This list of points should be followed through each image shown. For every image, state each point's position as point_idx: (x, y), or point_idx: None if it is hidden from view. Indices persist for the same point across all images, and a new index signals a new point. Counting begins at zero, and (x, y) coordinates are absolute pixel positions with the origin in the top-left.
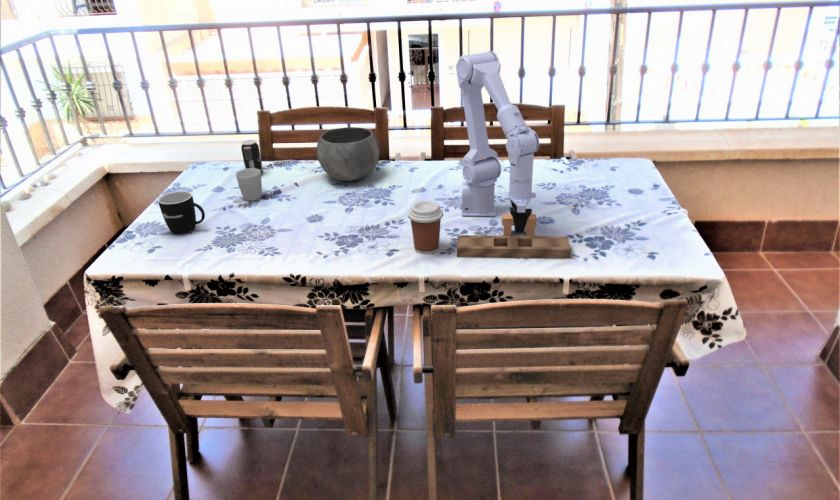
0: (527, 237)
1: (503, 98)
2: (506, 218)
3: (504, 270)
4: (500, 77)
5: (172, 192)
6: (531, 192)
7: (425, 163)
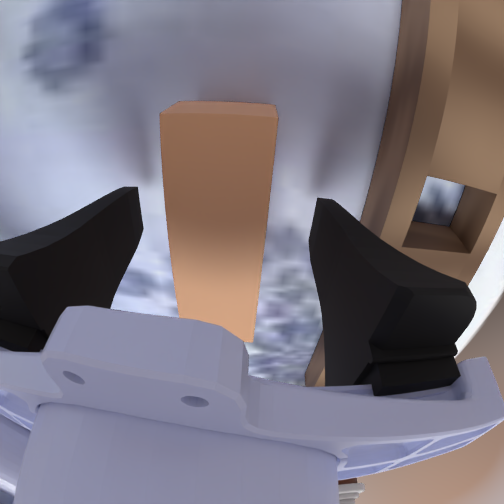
0: (410, 193)
1: None
2: (250, 326)
3: (498, 276)
4: None
5: None
6: (166, 472)
7: None
